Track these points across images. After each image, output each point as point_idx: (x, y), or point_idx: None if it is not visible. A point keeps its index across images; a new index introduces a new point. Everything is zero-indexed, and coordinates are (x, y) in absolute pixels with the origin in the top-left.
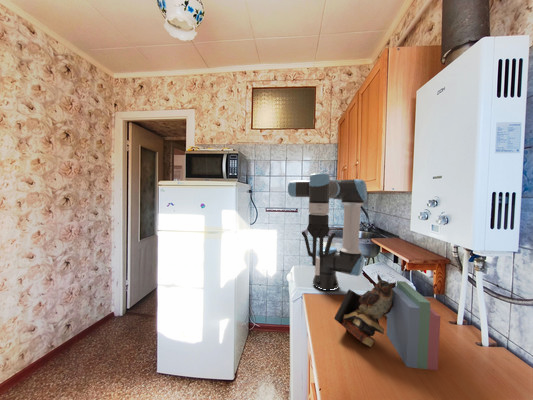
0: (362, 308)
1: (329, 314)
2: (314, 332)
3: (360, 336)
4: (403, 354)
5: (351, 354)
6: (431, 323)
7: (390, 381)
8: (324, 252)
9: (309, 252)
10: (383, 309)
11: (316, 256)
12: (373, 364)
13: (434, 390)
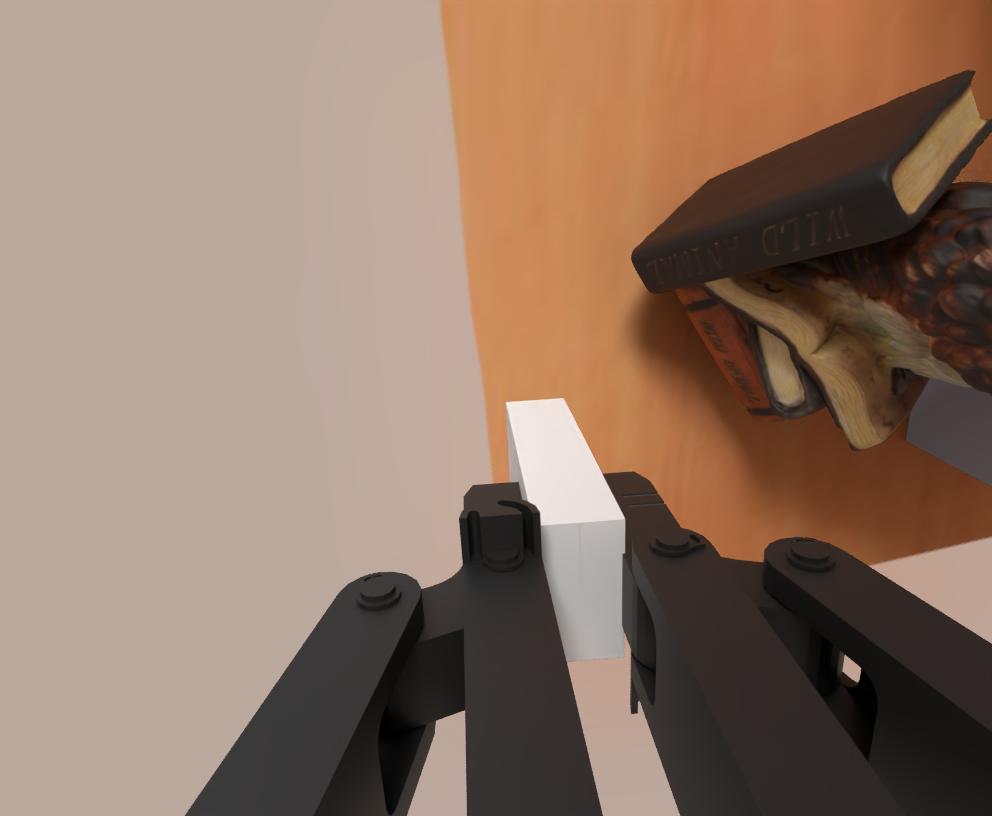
0: (884, 331)
1: (609, 22)
2: (484, 289)
3: (759, 406)
4: (936, 420)
5: (671, 421)
6: None
7: (792, 531)
8: (799, 615)
9: (384, 780)
10: None
11: (561, 532)
12: (758, 459)
13: (943, 530)
